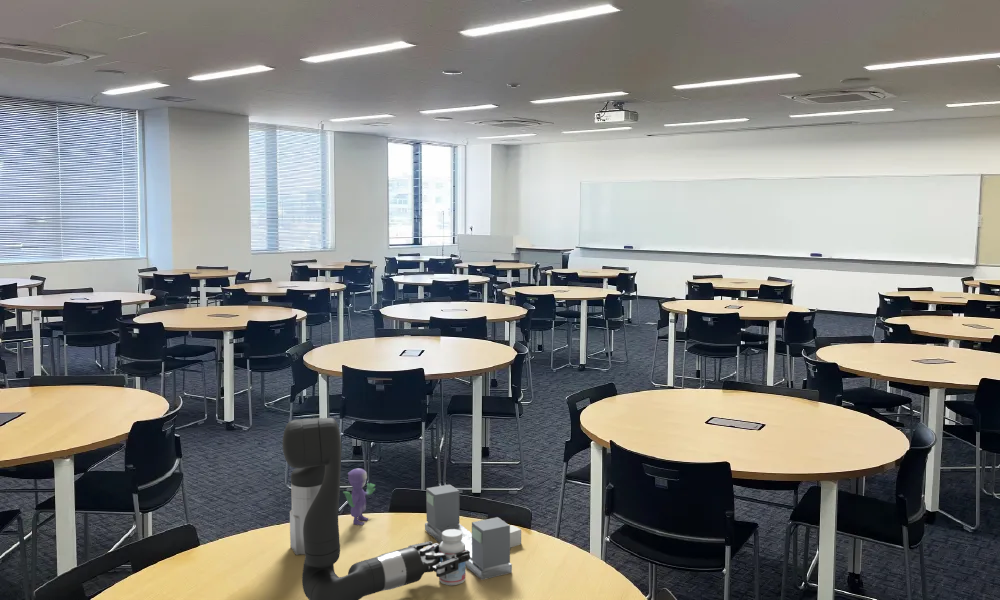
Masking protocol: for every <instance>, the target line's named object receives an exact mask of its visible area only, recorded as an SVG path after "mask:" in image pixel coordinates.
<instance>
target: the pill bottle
mask: <svg viewBox="0 0 1000 600" xmlns="http://www.w3.org/2000/svg"><path fill="white" fill-rule="evenodd" d="M442 540H443V541H442V542H441V543H439V544H440V545H439V553H445V554H446V555H448V554H455V553H459V552H462V551H465V544H464V542H463V541H462V532H461V531H460V530H457V529H449V530H445V531H443V532H442ZM447 560H450V559H446V561H447ZM440 562H441V563H442V557H440ZM466 568H467V567H466V564H465V562H462V563H459V564H458V570H456V571H454V572H451V573H449V574H446V575H444V576H441V577H438V580H439V582H440V583H441V584H443V585H446V586H456V585H461V584H462V583H464V582H465V580H466V576H467V575H466Z"/></svg>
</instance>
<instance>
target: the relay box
mask: <svg viewBox="0 0 1000 600" xmlns="http://www.w3.org/2000/svg"><path fill="white" fill-rule="evenodd" d="M509 525H510V549H511V548H515V547H517V546H519V545H522V528H519V527H517V526H515V525H512V524H509Z"/></svg>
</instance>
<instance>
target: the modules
mask: <svg viewBox="0 0 1000 600" xmlns="http://www.w3.org/2000/svg"><path fill="white" fill-rule="evenodd" d="M425 494H426V495H425V496H426V497H425V498H426V523H428V522H429V523H430V524H431V525H432V526H433V527H434V528H440V527H445V526H450V525H455V524H460V490H459V489H457V488H456V487H454V486H453V485H451V484H445V485H440V486H439V485H437V486H432V487H426V493H425ZM510 525H511V524H508V523H507V522H506V521H505V520H502V519H501V518H500V517H498V516H496V517H490V518H487V519H481V520H477V521H473V522H471V533H472V560H473V561H475V562H476V563H477V564H478V565H479V566H481V567H482V568H483V569H485V568H490V567H494V566H498V565H502V564H507V563H511V548H510Z"/></svg>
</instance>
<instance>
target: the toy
mask: <svg viewBox="0 0 1000 600" xmlns="http://www.w3.org/2000/svg"><path fill="white" fill-rule="evenodd" d="M367 473H368V472H367V471H366V470H365V469H364V468H359V467H358V468H354V469H352V470H350V471H349V472H347V475H348V479H347V480H348V482H349V483H350V486H351V487H352V490H351V492H350V491H346V490H345V491H342V493H343V494H344V496H345V498H346V501H347V504H348V506H349V507H350V515H351V517H353V522H352V523H353V525H355V526H363V525H364V524H365V522H366V521H369V517H366V516H364V515H363V512H365V511H366V509H367V507H366V506H367V505H368V503H367V500H366V496H370V495H372V494H374V493H373V492H375V491H376V488H375V487H376V484H374V483H371V482H369V483H366V480H367V479H368V474H367ZM365 486H366V490H364V489H363V488H364V487H365Z"/></svg>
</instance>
